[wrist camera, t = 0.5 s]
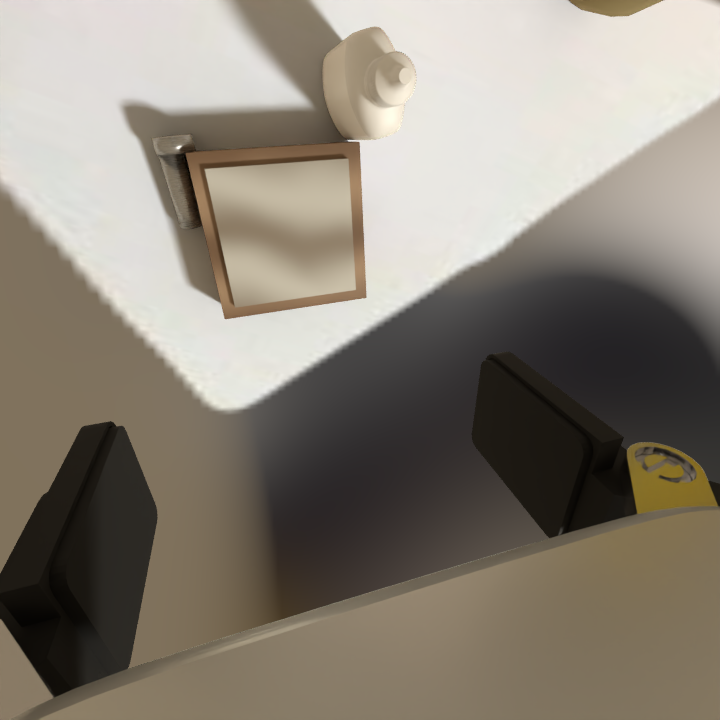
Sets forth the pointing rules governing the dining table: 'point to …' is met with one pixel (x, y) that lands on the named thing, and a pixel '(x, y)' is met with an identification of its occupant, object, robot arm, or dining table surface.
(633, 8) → the squeeze bottle
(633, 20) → the dining table surface
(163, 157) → the loose bolt
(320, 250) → the picture frame
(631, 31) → the dining table surface
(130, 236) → the dining table surface
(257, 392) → the dining table surface
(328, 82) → the eye dropper bottle
